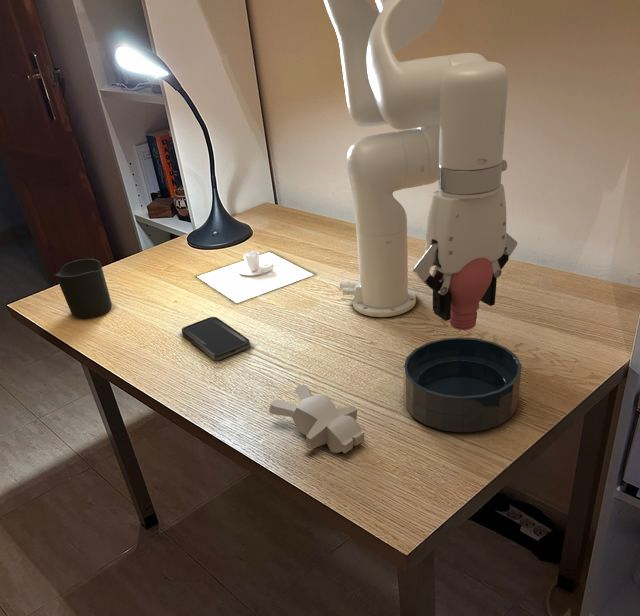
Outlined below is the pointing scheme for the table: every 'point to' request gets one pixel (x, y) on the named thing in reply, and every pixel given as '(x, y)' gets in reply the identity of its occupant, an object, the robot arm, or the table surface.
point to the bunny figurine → (321, 421)
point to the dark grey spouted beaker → (84, 288)
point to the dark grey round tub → (461, 384)
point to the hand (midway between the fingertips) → (464, 308)
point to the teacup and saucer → (254, 276)
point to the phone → (215, 338)
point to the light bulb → (468, 292)
